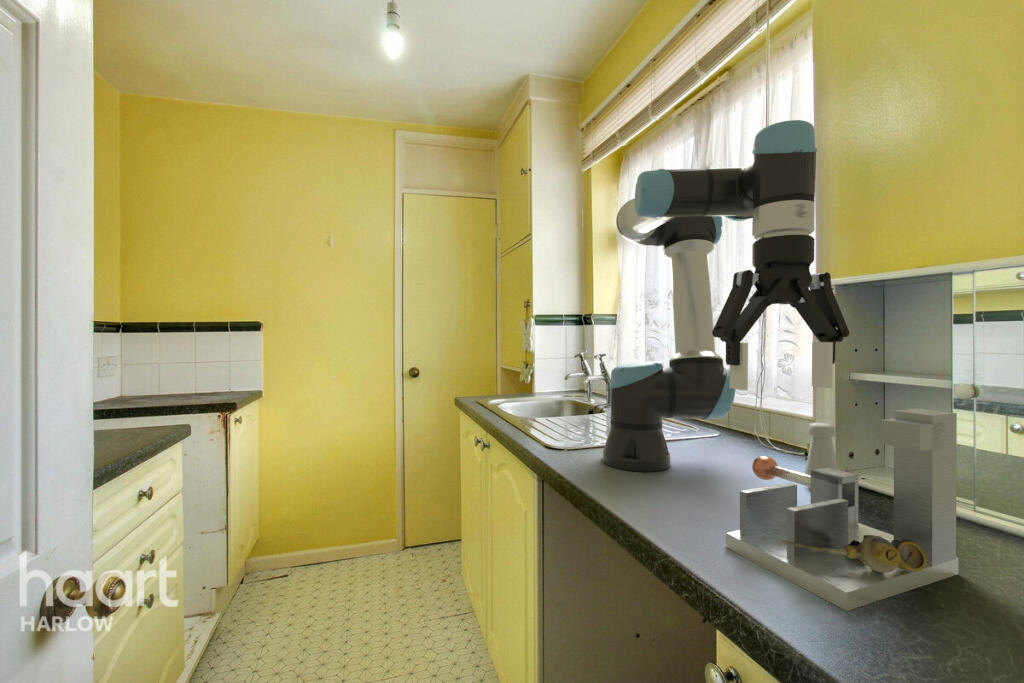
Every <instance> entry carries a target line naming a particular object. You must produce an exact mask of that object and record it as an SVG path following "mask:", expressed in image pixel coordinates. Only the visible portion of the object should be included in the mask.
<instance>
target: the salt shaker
mask: <svg viewBox="0 0 1024 683" xmlns="http://www.w3.org/2000/svg"><path fill="white" fill-rule="evenodd" d="M807 430H808V432H807V433H808V435H810V436H811V439H810V444H809V445H810V446H809V450H808V455H807V461H806V463H805V464H806V465H805V470H804V474H807V475H811V470H815V469H822V468H829V467H831V468H835V469H839V468H838V462H837V458H836V452H835V447H834V444H833V439H832V438H835V436H836V427H835V426H834V425H832V424H829V423H825V422H812V423H810V424H809V425H808V429H807ZM808 489H809V490H810V491H811V487H808Z"/></svg>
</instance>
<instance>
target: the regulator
mask: <svg viewBox="0 0 1024 683" xmlns="http://www.w3.org/2000/svg"><path fill="white" fill-rule="evenodd" d="M902 540H903V541H898V540H891V541H892V542H891V543H890V542H889V541H888V540H886V539H884V538H882V537H879V536H874V535H864V538H863V541H862V542H861V543H860V542H858V541H855V540H853V541H852V542H851V543H850V544H849V545H847V546H845V547H844V549H831V548H819V547H812V546H806V545H801V544H798V543H792V542H789V541H785V540H782V543H783V544H786V545H790V546H794V547H795V546H798V547H800V548H801V549H802V547H804V548H808V549H810V550H811V551H815V552H828V553H832V554H839V555H845V556H846V557H848V558H849V559H854V558H857V559H861V561H862V562H863V563H864V564H865V565H867V566H869V567H870V569H871V570H872V571H877V572H881V573H888V572H892V571H894V570H895V569H896V568H897V567H898V568H900V569H902V570H909V571H914V572H919V571H921V570H923V569H924V567H925V565H926V562H927V560H926V556H925V553H924V552H923V550H922V549H921V548H920V547H919V546H918V545H917V544H915V543H914V542H913V541H910V540H904V539H902Z"/></svg>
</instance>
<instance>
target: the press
mask: <svg viewBox="0 0 1024 683" xmlns="http://www.w3.org/2000/svg"><path fill="white" fill-rule="evenodd" d="M957 414H958V413H957V412H949V411H941V410H933V409H926V408H909V409H899V410H893V418H887V419H885V418H883V419H881V445H887V446H893V534H891V533H888V532H884V531H882V530H880V529H876V528H873V527H871V526H868V525H865V524H863V523H859V474H857V473H854V472H850V471H847V470H842V469H839V468H838V469H835V468H831V467H829V468H822V469H815V470H811V490H810V503H808V504H802V505H798V484H797V483H794V482H788V483H782V484H781V483H780V484H775V485H769V486H762V487H756V488H755V487H754V488H750V489H742V490H740V491H739V529H737V530H733V531H732V530H731V531H727V532H725V548H726V549H729V550H731V551H732V552H734V553H736V554H738V555H739V556H743V557H744V558H746V559H747V560H750V561H752V562H753V563H755V564H757V565H759V566H761V567H762V568H765V569H766V570H768V571H770V572H772V573H774V574H775V575H778V576H780V577H782V578H783V579H786V580H787V581H789V582H791V583H793V584H794V585H796V586H798V587H800V588H802V589H804V590H806V591H808V592H810V593H812V594H813V595H815V596H817V597H818V598H822V599H823V600H825V601H826V602H828V603H831V604H832V605H834V606H836V607H839V608H840V609H841V610H843V611H846V612H848V611H851V610H854V609H857V608H860V607H863V606H867V605H869V604H872V603H875V602H879V601H881V600H884V599H888V598H890V597H894V596H897V595H900V594H902V593H906V592H909V591H911V590H915V589H917V588H920V587H924V586H927V585H930V584H932V583H937V582H939V581H941V580H945V579H949V578H951V577H954V576H957V575H959V558H958V557H957V465H958V464H957V449H958V448H957V445H958V444H957V443H958V442H957V437H958V436H957V435H958V434H957V432H958V431H957V430H958V428H957V426H958V424H957V423H958V422H957V417H958V416H957ZM842 484H843V485H844V486H845V494H844V495H843V496H842ZM864 535H874V536H879V537H882V538H884V539H886V540H888V541H889V542H890V543H891V542H892V541H891V540H898V541H903V540H902V539H904V540H910V541H913V542H914V543H915V544H917V545H918V546H919V547H920V548H921V549H922V550H923V552H924V553H925V556H926V560H927V562H926V565H925V567H924V569H923V570H921V571H919V572H914V571H909V570H902V569H900V568H898V567H897V568H896V569H895V570H894V571H892V572H888V573H881V572H877V571H872V570H871V569H870V567H869V566H867V565H865V564H864V563H863V562H862V561H861V559H857V558H854V559H849V558H848V557H846V556H845V555H839V554H832V553H828V552H815V551H811V550H810V549H808V548H804V547H802V549H801V548H800V547H798V546H795V547H794V546H790V545H786V544H783V543H782V540H785V541H789V542H792V543H798V544H801V545H806V546H812V547H819V548H831V549H844V547H845V546H847V545H849V544H850V543H851V542H852V541H853V540H855V541H858V542H860V543H861V542H862V541H863V538H864Z"/></svg>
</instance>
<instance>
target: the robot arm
mask: <svg viewBox="0 0 1024 683" xmlns="http://www.w3.org/2000/svg"><path fill="white" fill-rule="evenodd" d="M753 138H754V139H753V146H752V149H751V154H752V160H751V161H750V162H749V163H747V165H746V166H741V167H740V166H739V167H738V166H733V167H710V168H709V167H708V168H684V169H683V168H680V169H679V168H678V169H676V168H675V169H666V168H665V169H664V168H658V169H654V170H645V171H642V172H641V173H640V174H638V176H637V180H636V184H635V190H634V198H632V199H630V200H628V201H627V202H625V203H624V204H623V205H622V206H621V207H620V209H619V210H618V212H617V216H616V223H615V224H616V228H617V230H618V233H619V234H620V235H621V236H622V237H623V238H624V239H625V240H627V241H628V242H631V243H632V244H636V245H638V246H639V245H640V246H643V247H662V248H663V255H664V256H665V257H666V258H667V259H668V260H670V274H671V275H670V276H671V292H672V310H673V312H672V313H673V330H674V331H673V332H674V333H673V334H674V346H675V347H674V348H675V349H674V350H675V351H674V352H675V354H674V355H673V356H672V357H671V358H670V359H669V360H668V364H669V367H664V364H663V362H662V361H658V360H657V361H656V360H652V361H640V362H632V363H626V364H625V363H624V364H621V365H617V366H615V367H613V368H612V370H611V373H610V384H609V388H610V428H609V431H608V434H607V436H606V437H607V438H606V440H605V444H604V448H603V450H602V462H603V463H604V464H605V465H607V466H609V467H612V468H615V469H619V470H625V471H631V472H659V471H664V470H666V469H669V468H670V467H671V453H670V451H669V449H668V444H667V441H666V437H665V435H664V433H663V432H664V431H663V420H664V419H687V420H688V419H689V420H691V419H692V420H693V419H694V420H695V419H696V420H697V419H698V420H704V421H705V420H711V419H713V420H716V419H722V418H725V417H726V416H727V415H728V414H729V412H730V411H731V409H732V406H733V404H734V400H735V395H736V390H739V391H749V390H748V386H749V385H748V384H749V382H748V379H749V377H748V376H749V375H748V374H749V373H748V372H749V370H748V368H749V342H741V341H743V339H744V338H745V337H746V336H747V335H748V333H749V332H750V331H751V329H752V328H753V327H754V326H755V324H756V323H757V321H758V320H759V319H760V318H761V316H762V315H763V313H765V311H766V309H767V308H768V307H770V306H772V305H777V304H779V305H790V307H792V308H795V310H796V311H797V313H798V314H799V315H800V317H801V319H802V320H803V321H804V322H805V324H806V325H807V327H808V328H809V329H810V331H811V332H812V333H813V335H814V336H815V338H816V339H817V340H818V341H812V342H811V349H812V351H811V387H819V388H825V389H832V388H833V371H834V370H833V368H834V367H833V366H834V365H835V362H836V343H838V342H839V343H840V342H842V341H844V338H847V337H849V336H850V330H849V328H848V325H847V322H846V320H845V317H844V315H843V313H842V310H841V307H840V305H839V303H838V301H837V298H836V296H835V295H836V294H835V293H834V291H833V288H832V279H831V278H832V277H831V276H832V275H831V273H829V272H827V271H824V272H817V273H813V274H811V271H810V270H811V269H810V267H811V265H812V264H813V263H814V261H815V238H814V237H813V236H812V233H814V232H815V209H816V207H815V201H816V200H815V198H816V168H817V167H816V166H817V164H816V163H817V152H818V148H817V147H816V132H815V126H814V125H813V124H812V123H811V122H809V121H806V120H802V119H795V120H794V119H791V120H782V121H780V122H776V123H773V124H770V125H767V126H766V127H763V128H762V129H760V130H759V131H758V132H757V133H756V134H755V136H754V137H753ZM723 217H725V218H727V219H729V220H731V221H736V222H744V221H748V220H751V219H752V224H751V225H752V228H751V229H752V232H751V237H752V238H753V239H754V240H755V241H754V242H753V243H752V245H751V246H752V248H751V249H752V255H751V256H752V259H751V261H752V262H751V263H752V266H753V267H754V268H755V269H754V272H753V271H752V270H751V269H747V270H742V271H737V272H734V274H733V280H732V288H731V289H730V291H729V294H728V296H727V298H726V300H725V303H724V304H723V307H722V310H721V312H720V313H719V316H718V319H717V320H716V323H715V325H714V320H713V304H712V293H711V279H710V265H709V255H710V254H711V253H712V252H713V251H714V249H715V245H716V244H718V243H719V242H720V239H721V237H722V233H723V229H722V227H723ZM753 286H754V287H755V289H756V290H755V291H754V292H753V294H752V295H751V297H749V296H750V294H751V291H752V287H753ZM748 298H749V299H748ZM747 299H748V304H747V305H746V303H747ZM745 305H746V306H745ZM744 306H745V307H744ZM715 338H718V339H720V341H721V342H725V364H726V365H727V366H729V367H727V366H724V358H722V356H720V355H719V354H718V352H716V349H715Z"/></svg>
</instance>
